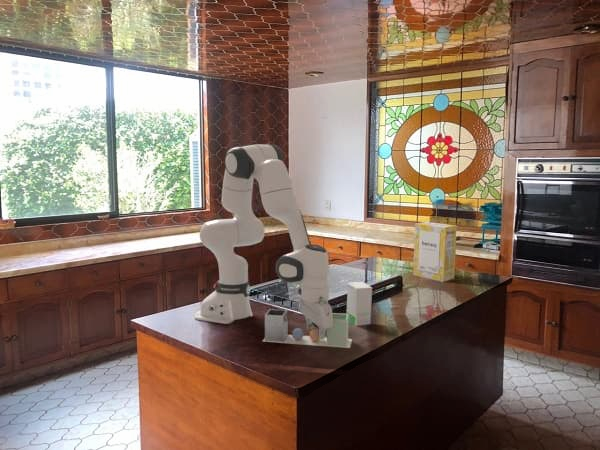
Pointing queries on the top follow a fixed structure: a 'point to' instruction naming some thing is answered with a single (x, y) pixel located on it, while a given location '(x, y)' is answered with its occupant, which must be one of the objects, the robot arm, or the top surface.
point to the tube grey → (276, 325)
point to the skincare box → (359, 303)
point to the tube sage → (338, 331)
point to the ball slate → (297, 333)
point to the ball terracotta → (314, 335)
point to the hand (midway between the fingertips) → (315, 333)
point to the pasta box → (435, 251)
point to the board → (309, 341)
